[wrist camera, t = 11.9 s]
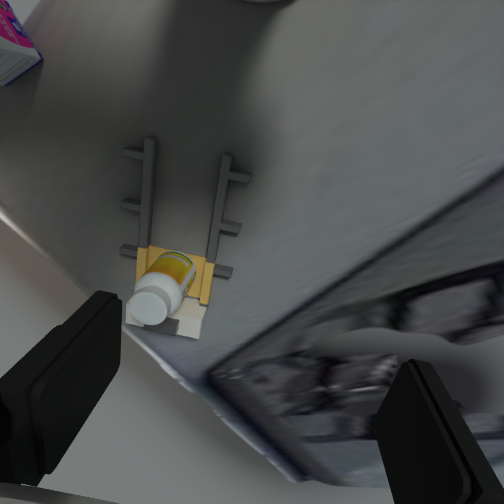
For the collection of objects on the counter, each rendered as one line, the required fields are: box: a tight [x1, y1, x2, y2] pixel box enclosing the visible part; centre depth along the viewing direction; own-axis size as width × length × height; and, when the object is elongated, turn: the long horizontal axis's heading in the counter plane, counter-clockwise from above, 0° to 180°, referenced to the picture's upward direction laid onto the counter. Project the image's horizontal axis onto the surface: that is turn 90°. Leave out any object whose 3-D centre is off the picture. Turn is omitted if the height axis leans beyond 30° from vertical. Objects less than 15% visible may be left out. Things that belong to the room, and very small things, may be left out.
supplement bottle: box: [129, 250, 196, 325], centre depth 38 cm, size 5×5×10 cm
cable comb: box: [119, 137, 251, 339], centre depth 38 cm, size 22×14×5 cm, turn 169°
